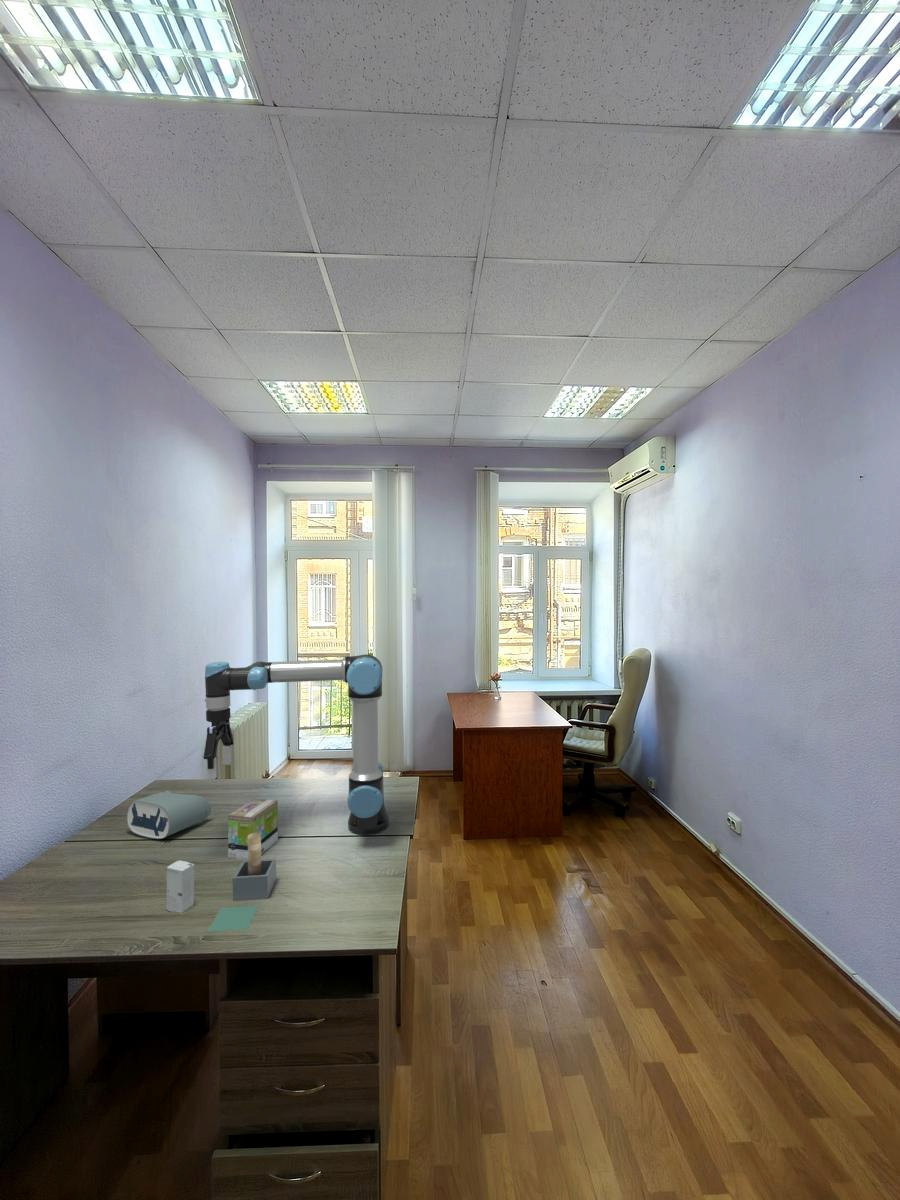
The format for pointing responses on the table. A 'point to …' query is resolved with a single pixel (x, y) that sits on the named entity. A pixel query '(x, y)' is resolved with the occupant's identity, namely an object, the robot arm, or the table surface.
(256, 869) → the dowel
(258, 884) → the pen cup
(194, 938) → the table surface
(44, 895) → the table surface
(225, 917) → the mat
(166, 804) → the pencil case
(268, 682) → the robot arm
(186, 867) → the skincare box
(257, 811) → the tea box
